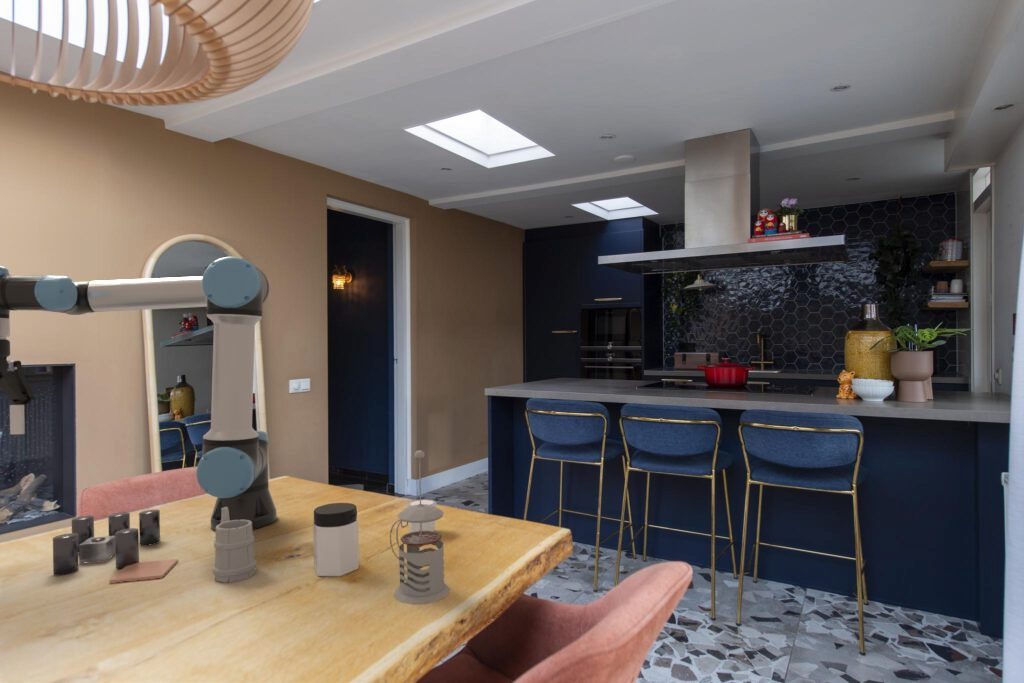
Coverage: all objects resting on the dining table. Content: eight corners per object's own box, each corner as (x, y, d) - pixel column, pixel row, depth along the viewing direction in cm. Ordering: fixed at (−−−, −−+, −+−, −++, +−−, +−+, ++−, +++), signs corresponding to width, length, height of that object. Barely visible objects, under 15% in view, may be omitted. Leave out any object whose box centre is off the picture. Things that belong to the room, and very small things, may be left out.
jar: (362, 572, 114) (361, 510, 114) (318, 580, 110) (317, 516, 110) (353, 558, 122) (352, 500, 122) (312, 565, 118) (310, 505, 118)
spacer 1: (82, 566, 120) (81, 532, 120) (72, 574, 116) (71, 538, 116) (59, 568, 119) (59, 534, 119) (49, 576, 115) (48, 540, 115)
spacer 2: (97, 545, 133) (97, 514, 133) (89, 551, 129) (88, 519, 129) (77, 547, 132) (77, 516, 132) (68, 553, 128) (67, 521, 128)
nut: (116, 553, 128) (116, 534, 128) (106, 561, 123) (106, 541, 123) (90, 556, 127) (90, 536, 127) (79, 564, 122) (78, 543, 122)
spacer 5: (162, 539, 137) (162, 508, 137) (156, 544, 133) (155, 513, 133) (143, 540, 136) (143, 510, 136) (136, 546, 132) (136, 515, 132)
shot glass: (401, 535, 135) (401, 505, 135) (417, 527, 142) (416, 498, 142) (427, 538, 133) (427, 507, 133) (442, 529, 139) (441, 500, 139)
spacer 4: (142, 561, 123) (141, 527, 123) (134, 568, 119) (133, 533, 119) (120, 563, 122) (120, 529, 122) (112, 570, 118) (111, 535, 118)
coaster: (177, 561, 122) (177, 558, 122) (162, 578, 113) (162, 575, 113) (129, 566, 120) (129, 563, 120) (109, 583, 111) (109, 580, 111)
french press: (425, 608, 97) (422, 457, 97) (374, 594, 103) (371, 452, 104) (461, 587, 106) (458, 447, 106) (412, 575, 112) (409, 443, 112)
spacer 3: (133, 542, 135) (132, 511, 135) (125, 547, 131) (125, 516, 131) (113, 543, 134) (113, 513, 134) (105, 549, 130) (105, 518, 130)
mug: (219, 586, 108) (218, 521, 108) (202, 569, 117) (200, 509, 117) (262, 575, 113) (261, 512, 113) (242, 559, 122) (241, 501, 122)
